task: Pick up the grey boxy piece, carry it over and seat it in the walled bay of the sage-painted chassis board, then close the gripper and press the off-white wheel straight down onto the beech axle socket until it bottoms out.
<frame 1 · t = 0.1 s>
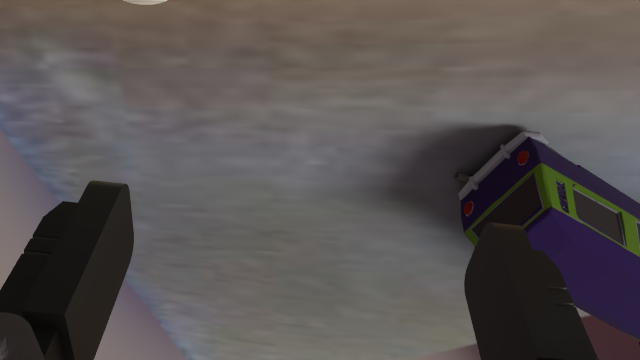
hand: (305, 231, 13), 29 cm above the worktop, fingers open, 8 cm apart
toy car: (575, 207, 51), on the worktop
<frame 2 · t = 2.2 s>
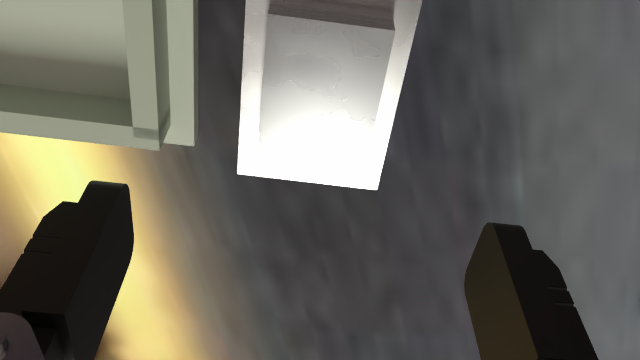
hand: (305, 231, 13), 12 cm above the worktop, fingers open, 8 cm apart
grey boxy piece: (323, 22, 23), on the worktop
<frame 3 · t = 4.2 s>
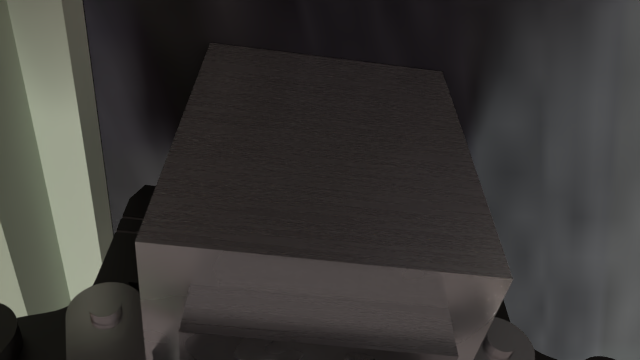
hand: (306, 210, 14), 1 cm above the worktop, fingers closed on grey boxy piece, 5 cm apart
grey boxy piece: (308, 184, 14), on the worktop, touching gripper
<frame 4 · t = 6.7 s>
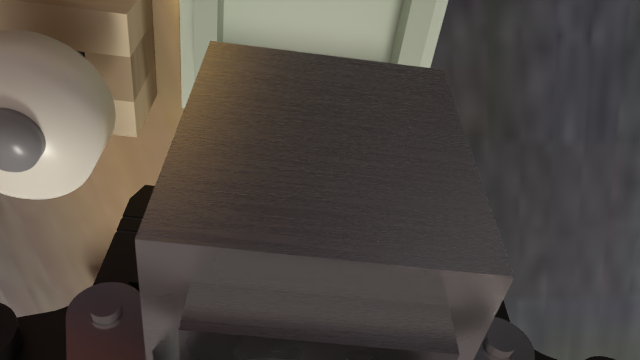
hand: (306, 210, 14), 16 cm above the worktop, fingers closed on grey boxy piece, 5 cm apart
axle mount: (91, 34, 28), on the worktop
wheel: (43, 95, 23), point 6 cm above the worktop, slide at 0.0 cm
grey boxy piece: (309, 183, 14), point 15 cm above the worktop, touching gripper
when the fingers open (4 cm above the worktop, at t = 9.3 s): grey boxy piece drops 2 cm, resting on chassis.
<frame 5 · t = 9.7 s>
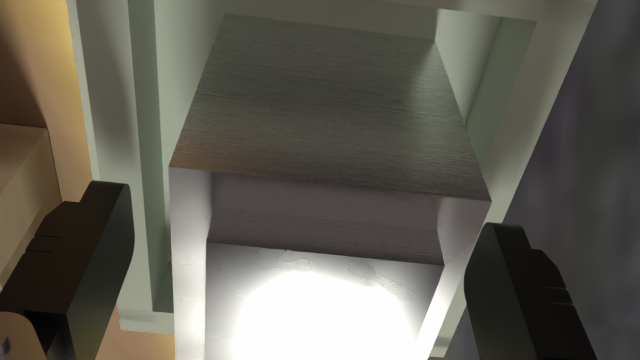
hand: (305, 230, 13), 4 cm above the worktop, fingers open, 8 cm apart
grey boxy piece: (313, 147, 16), point 1 cm above the worktop, touching chassis
chassis: (310, 128, 16), on the worktop
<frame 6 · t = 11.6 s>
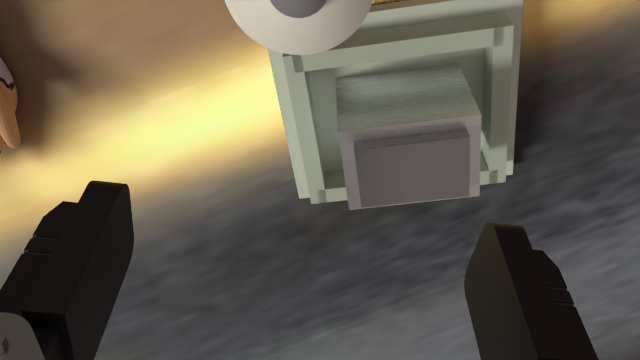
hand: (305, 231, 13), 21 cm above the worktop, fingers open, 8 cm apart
grey boxy piece: (398, 108, 34), point 1 cm above the worktop, touching chassis
chassis: (396, 99, 35), on the worktop
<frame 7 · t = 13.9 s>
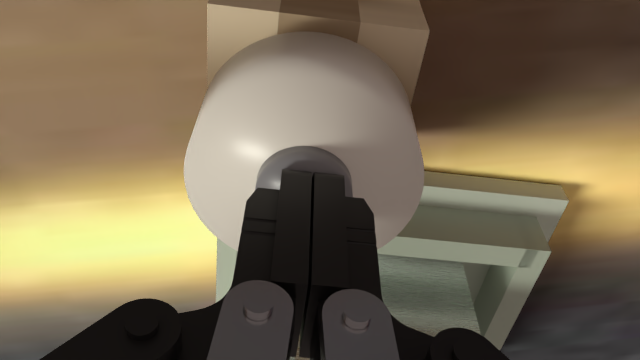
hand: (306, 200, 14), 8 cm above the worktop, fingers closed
axle mount: (310, 54, 20), on the worktop
wheel: (307, 122, 17), point 5 cm above the worktop, slide at 1.5 cm, touching gripper
grey boxy piece: (370, 287, 26), point 1 cm above the worktop, touching chassis
chassis: (369, 269, 27), on the worktop
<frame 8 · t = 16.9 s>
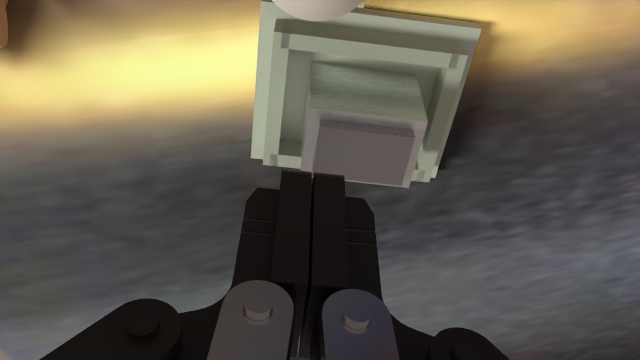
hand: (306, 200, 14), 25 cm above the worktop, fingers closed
grey boxy piece: (357, 100, 40), point 1 cm above the worktop, touching chassis
chassis: (356, 91, 40), on the worktop
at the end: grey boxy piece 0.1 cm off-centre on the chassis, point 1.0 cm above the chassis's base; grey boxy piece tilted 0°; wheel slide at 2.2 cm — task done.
